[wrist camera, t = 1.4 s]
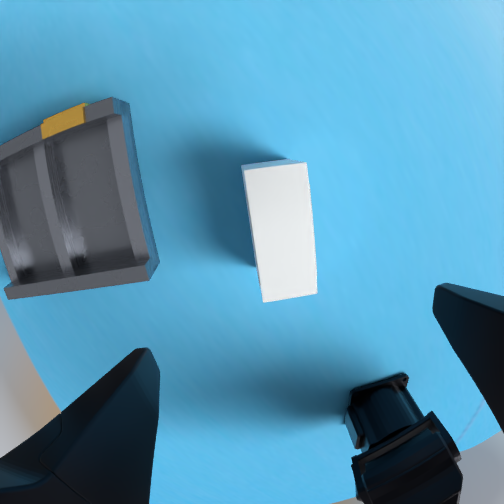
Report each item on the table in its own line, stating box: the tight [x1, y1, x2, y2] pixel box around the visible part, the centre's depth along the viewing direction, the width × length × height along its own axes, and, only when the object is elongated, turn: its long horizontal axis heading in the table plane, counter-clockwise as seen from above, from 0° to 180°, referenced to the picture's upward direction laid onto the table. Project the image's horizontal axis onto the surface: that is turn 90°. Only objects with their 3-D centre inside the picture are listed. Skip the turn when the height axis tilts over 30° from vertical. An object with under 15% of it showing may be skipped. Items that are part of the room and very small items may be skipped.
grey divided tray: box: [0, 97, 160, 300], centre depth 16 cm, size 13×11×3 cm
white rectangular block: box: [241, 159, 317, 303], centre depth 17 cm, size 3×7×5 cm, turn 8°
